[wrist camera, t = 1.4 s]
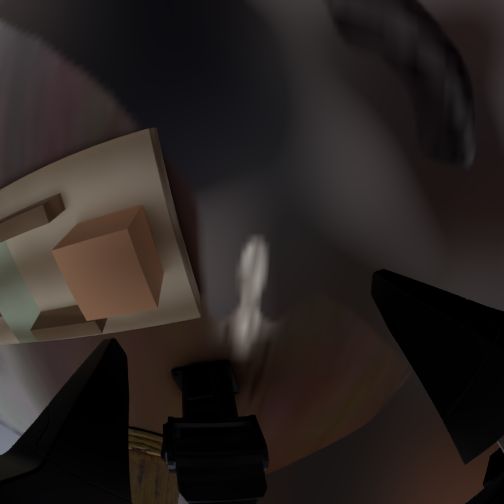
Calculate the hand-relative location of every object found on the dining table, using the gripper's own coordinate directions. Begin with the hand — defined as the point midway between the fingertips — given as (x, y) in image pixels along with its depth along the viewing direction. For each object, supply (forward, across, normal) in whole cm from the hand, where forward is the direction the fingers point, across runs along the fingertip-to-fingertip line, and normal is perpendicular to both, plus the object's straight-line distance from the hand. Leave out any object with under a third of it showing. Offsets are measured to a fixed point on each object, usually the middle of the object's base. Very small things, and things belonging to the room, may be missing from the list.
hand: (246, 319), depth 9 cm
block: (+10, +7, 0) cm, 12 cm away
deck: (+13, +17, 0) cm, 22 cm away
